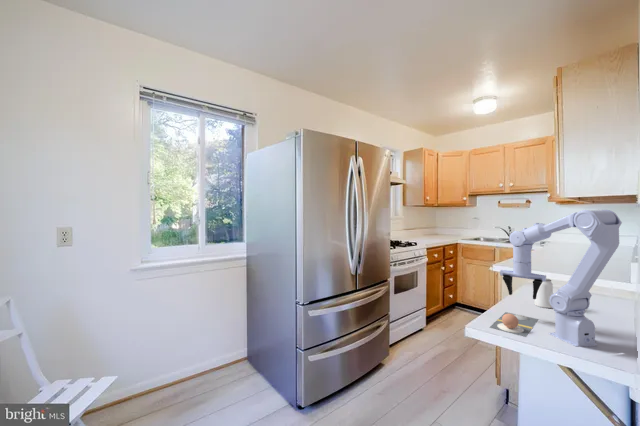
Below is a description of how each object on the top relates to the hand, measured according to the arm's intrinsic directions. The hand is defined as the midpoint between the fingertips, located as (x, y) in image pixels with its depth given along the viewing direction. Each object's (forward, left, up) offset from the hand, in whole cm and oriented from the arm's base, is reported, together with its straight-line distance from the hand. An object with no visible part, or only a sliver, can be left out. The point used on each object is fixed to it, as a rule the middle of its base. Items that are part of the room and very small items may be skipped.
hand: (522, 296), depth 109 cm
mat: (-3, +6, -10) cm, 11 cm away
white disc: (-7, +11, -9) cm, 16 cm away
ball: (-7, +11, -6) cm, 14 cm away
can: (+14, -23, -10) cm, 28 cm away
